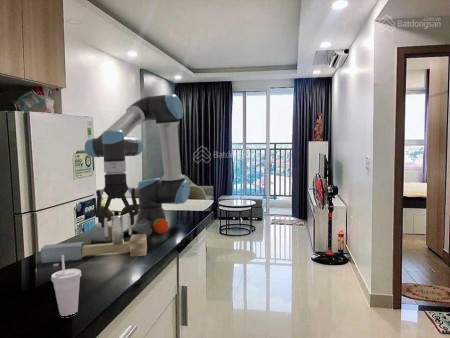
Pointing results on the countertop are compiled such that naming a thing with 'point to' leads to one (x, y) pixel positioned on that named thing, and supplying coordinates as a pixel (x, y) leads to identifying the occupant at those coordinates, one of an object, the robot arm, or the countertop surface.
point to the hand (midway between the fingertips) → (118, 234)
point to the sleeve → (61, 252)
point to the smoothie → (67, 289)
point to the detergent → (139, 229)
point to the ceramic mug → (101, 233)
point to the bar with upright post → (113, 247)
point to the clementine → (160, 226)
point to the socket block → (138, 245)
